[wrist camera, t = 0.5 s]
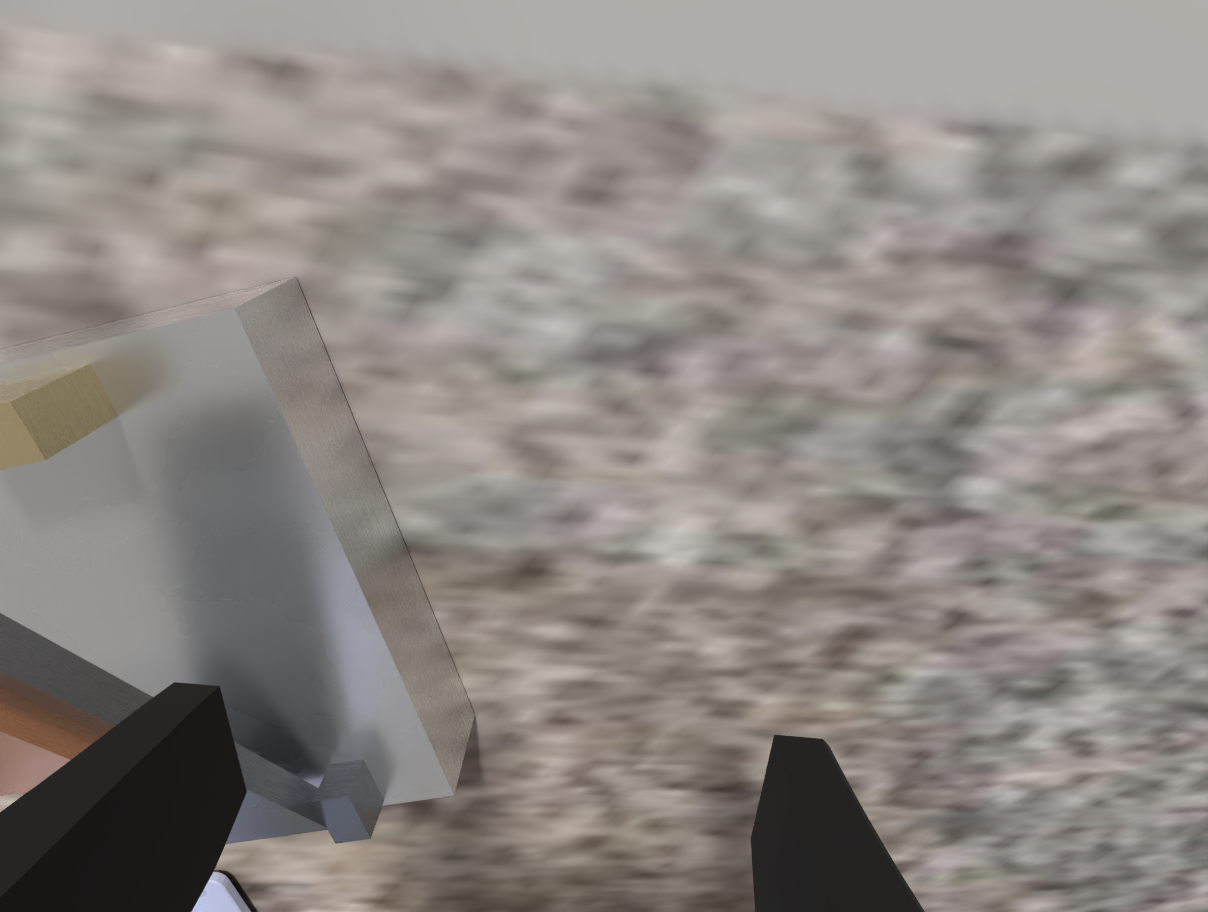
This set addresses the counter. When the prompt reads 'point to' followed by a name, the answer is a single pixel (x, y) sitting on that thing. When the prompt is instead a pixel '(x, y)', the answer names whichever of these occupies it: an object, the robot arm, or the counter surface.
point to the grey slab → (93, 707)
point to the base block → (229, 543)
